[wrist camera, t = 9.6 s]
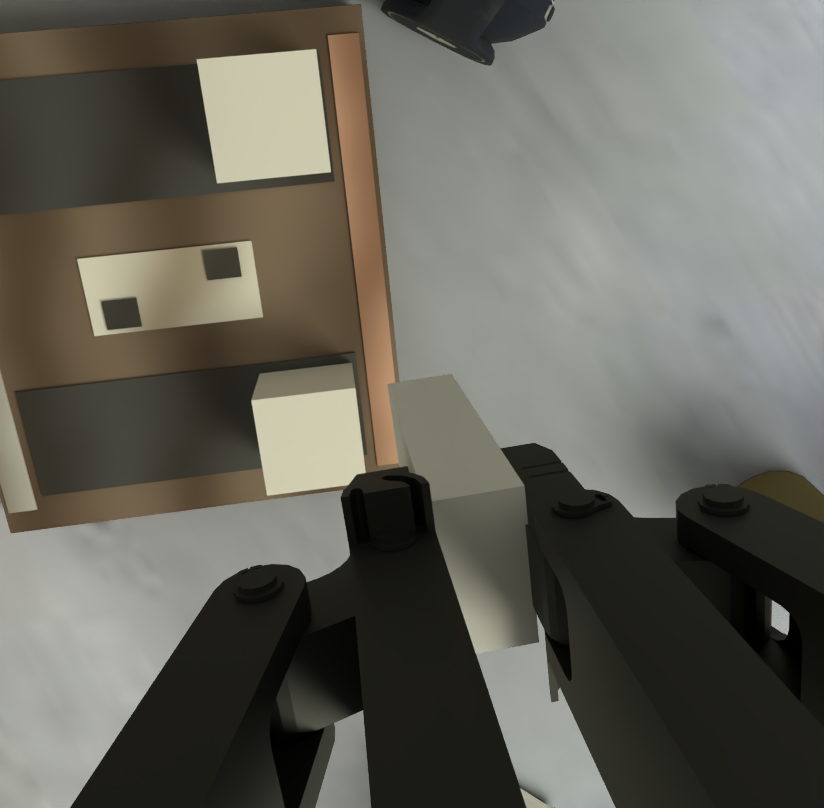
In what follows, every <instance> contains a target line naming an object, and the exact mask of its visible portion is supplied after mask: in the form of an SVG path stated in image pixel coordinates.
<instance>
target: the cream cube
mask: <svg viewBox="0 0 824 808" xmlns="http://www.w3.org/2000/svg"><path fill="white" fill-rule="evenodd" d="M197 65H198V71H199V77H200V83H201V89H202V95H203V101H204V107H205V113H206V119H207V125H208V132H209V138H210V144H211V150H212V156H213V162H214V168H215V174H216V180H217V183H226V182H237V181H247V180H257V179H267V178H277V177H287V176H297V175H308V174H318V173H328V172H331V168H330V159H329V151H328V143H327V134H326V126H325V118H324V110H323V101H322V93H321V85H320V76H319V68H318V60H317V52H316V49H311V50H300V51H288V52H276V53H265V54H253V55H241V56H230V57H218V58H207V59H197Z"/></svg>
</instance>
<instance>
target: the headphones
mask: <svg viewBox="0 0 824 808" xmlns="http://www.w3.org/2000/svg"><path fill="white" fill-rule="evenodd" d="M553 1H554V0H386V1H385V2H383V5H382V8H381V10H382V12H383V13H385V14H386V15H387V16H389V17H390V18H392V19H394V20H395V21H397V22H399V23H400V24H402V25H404V26H406V27H408V28H410V29H411V30H413V31H415V32H417V33H419V34H421V35H423V36H425V37H427V38H429V39H430V40H432V41H434V42H436V43H438V44H440V45H442V46H444V47H446V48H448V49H450V50H452V51H454V52H456V53H458V54H460V55H462V56H464V57H467V58H469V59H471V60H473V61H476V62H478V63H481V64H484V65H489V66H490V65H492V63H493V60H494V49H493V47H492V45H491V44H492V43H500V42H508V41H513V40H516V39H518V38H521V37H523V36H526V35H528V34H530V33H533V32H535V31H538V30H540V29H542V28H544V27H545V25H546V22H548V21H550V19H551V17H552V15H553V13H554V10H555V9H554V6H553Z"/></svg>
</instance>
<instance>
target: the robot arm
mask: <svg viewBox="0 0 824 808" xmlns="http://www.w3.org/2000/svg"><path fill="white" fill-rule="evenodd" d="M387 386H388V393H389V399H390V406H391V413H392V420H393V427H394V434H395V441H396V447H397V454H398V461H399V467H398V468H392V469H386V470H380V471H374V472H368V473H362V474H357V475H356V476H355V477H354V479H353V480H352V481H351V482H350V484H349V485H348V486H347V488H346V489H344V490H343V493H342V496H341V502H342V508H343V514H344V519H345V525H346V531H347V537H348V542H349V549H350V556H349V558H348V560H347V561H346V562H345V563H344V564H342V565H341V566H340V567H339V568H337V569H336V570H334V571H333V572H331V573H329V574H327V575H325V576H322V577H320V578H318V579H315V580H312V581H310V582H307V583H306V578H305V576H304V575H303V573H302V572H301V571H300V569H297V568H294V567H292V566H289V565H279V564H270V565H264V566H262V565H257V566H253V567H250V569H248V568H247V569H244V570H242V571H239V572H238V573H237V574H235V575H233V576H231V577H230V578H228V579H226V580H225V581H223V582H222V583H221V584H220V585H219V586H218V587H217V588H216V589H215V590H214V592H213V593H212V595H211V596H210V598H209V599H208V601H207V602H206V604H205V605H204V607H203V608H202V610H201V611H200V613H199V614H198V616H197V617H196V619H195V620H194V622H193V623H192V625H191V626H190V628H189V629H188V631H187V632H186V634H185V635H184V637H183V638H182V640H181V641H180V643H179V644H178V646H177V647H176V649H175V650H174V652H173V653H172V655H171V656H170V658H169V659H168V661H167V662H166V664H165V665H164V667H163V669H162V670H161V672H160V673H159V675H158V676H157V678H156V679H155V681H154V682H153V684H152V685H151V687H150V688H149V690H148V691H147V693H146V694H145V696H144V697H143V699H142V700H141V702H140V703H139V705H138V706H137V708H136V709H135V711H134V712H133V714H132V715H131V717H130V718H129V720H128V721H127V723H126V724H125V726H124V727H123V729H122V730H121V732H120V733H119V735H118V736H117V738H116V739H115V741H114V742H113V744H112V745H111V747H110V748H109V750H108V751H107V753H106V754H105V756H104V757H103V759H102V761H101V762H100V764H99V765H98V767H97V768H96V770H95V771H94V773H93V774H92V776H91V777H90V779H89V780H88V782H87V783H86V785H85V786H84V788H83V789H82V791H81V792H80V794H79V795H78V797H77V798H76V800H75V801H74V803H73V804H72V806H71V807H70V808H315V806H316V803H317V799H318V796H319V792H320V789H321V786H322V782H323V779H324V775H325V772H326V768H327V765H328V762H329V758H330V755H331V751H332V748H333V745H334V741H335V726H334V723H335V722H337V721H339V720H342V719H344V718H346V717H348V716H351V715H353V714H355V713H357V712H360V711H362V710H363V714H364V726H365V737H366V749H367V761H368V773H369V784H370V796H371V808H526V805H525V802H524V799H523V796H522V793H521V790H520V786H519V783H518V780H517V777H516V774H515V771H514V768H513V765H512V762H511V759H510V756H509V753H508V750H507V747H506V744H505V741H504V738H503V735H502V732H501V729H500V726H499V723H498V720H497V717H496V714H495V710H494V707H493V704H492V701H491V698H490V695H489V692H488V689H487V686H486V683H485V680H484V677H483V674H482V671H481V668H480V665H479V662H478V659H477V656H476V654H478V653H483V652H488V651H494V650H499V649H505V648H510V647H515V646H521V645H526V644H532V643H537V642H539V637H538V626H537V615H538V617H539V619H540V621H541V623H542V625H543V627H544V630H545V640H546V652H547V663H548V674H549V685H550V695H551V702H555V701H559V700H558V689H559V688H561V690H562V692H563V695H564V697H565V699H566V701H567V703H568V705H569V707H570V710H571V712H572V714H573V716H574V718H575V720H576V723H577V725H578V727H579V729H580V731H581V733H582V736H583V738H584V740H585V742H586V744H587V746H588V749H589V751H590V753H591V755H592V757H593V759H594V762H595V764H596V766H597V768H598V770H599V772H600V775H601V777H602V779H603V781H604V783H605V785H606V788H607V790H608V792H609V794H610V796H611V798H612V801H613V803H614V805H615V807H616V808H824V523H823V522H821V521H819V520H817V519H815V518H812V517H810V516H808V515H806V514H804V513H802V512H799V511H797V510H795V509H793V508H791V507H789V506H786V505H784V504H782V503H780V502H778V501H776V500H773V499H771V498H769V497H767V496H765V495H763V494H760V493H758V492H755V491H752V490H749V489H746V488H741V487H733V486H731V485H728V484H718V486H716V484H712V485H706V486H705V487H700V488H695V489H691V490H689V491H687V492H685V493H683V494H681V495H680V496H679V498H678V499H677V500H676V518H635V517H633V516H632V515H631V514H630V513H629V512H628V510H627V509H626V508H625V507H624V506H623V505H622V504H621V503H620V502H619V500H617V499H616V498H614V497H613V496H611V495H610V494H607V493H604V492H600V491H596V490H585V489H584V488H583V487H582V485H581V484H580V483H579V482H578V481H577V479H576V478H575V477H574V476H573V475H572V473H571V472H569V471H568V469H567V467H566V466H565V465H564V464H563V463H561V460H560V459H559V458H558V457H557V455H556V454H555V453H554V452H553V451H552V450H550V449H548V448H545V447H543V446H540V445H538V444H536V443H531V444H525V445H519V446H513V447H507V448H501V449H500V447H499V446H498V444H497V443H496V441H495V440H494V438H493V437H492V435H491V434H490V432H489V431H488V429H487V427H486V426H485V424H484V423H483V421H482V420H481V418H480V417H479V415H478V414H477V412H476V411H475V409H474V408H473V406H472V405H471V403H470V401H469V400H468V398H467V397H466V395H465V394H464V392H463V391H462V389H461V388H460V386H459V385H458V383H457V382H456V380H455V379H454V377H453V375H452V374H448V375H442V376H435V377H429V378H423V379H416V380H410V381H404V382H397V383H391V384H387ZM772 600H773V601H775V602H776V603H778V604H779V605H781V606H782V607H783V608H784V609H786V610H787V611H788V612H789V613H790V616H789V632H788V635H786V634H784V633H781V632H780V631H778V630H777V629H775V628H774V627H772V626H771V615H772ZM536 613H537V615H536Z"/></svg>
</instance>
